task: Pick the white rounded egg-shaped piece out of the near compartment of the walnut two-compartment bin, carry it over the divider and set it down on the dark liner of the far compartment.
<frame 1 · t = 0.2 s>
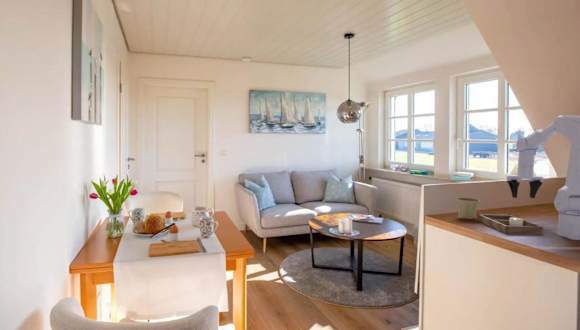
hand: (523, 197, 164), 10 cm above the countertop, tool pointing down, fingers open, 7 cm apart
bin: (507, 229, 148), on the countertop
white rounded egg-shaped piece: (515, 230, 143), point 1 cm above the countertop, touching bin
flower pot: (466, 219, 165), on the countertop
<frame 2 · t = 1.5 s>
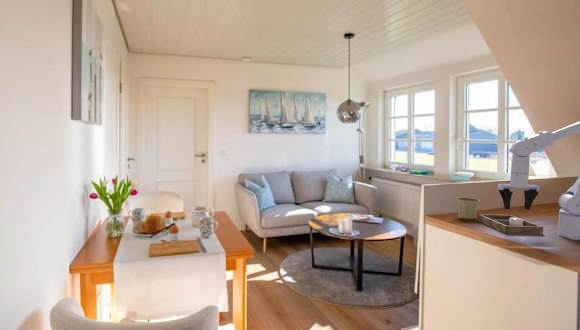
hand: (516, 209, 143), 9 cm above the countertop, tool pointing down, fingers open, 7 cm apart
nothing on the countertop moved.
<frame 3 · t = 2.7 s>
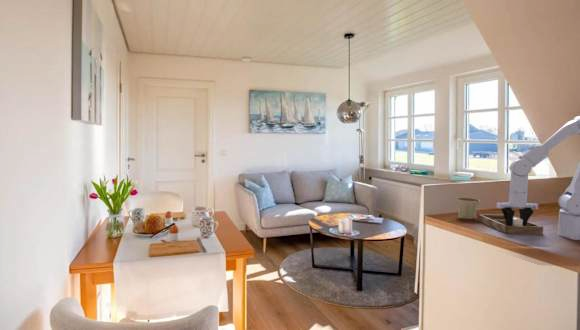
hand: (515, 227, 143), 2 cm above the countertop, tool pointing down, fingers closed on white rounded egg-shaped piece, 4 cm apart
white rounded egg-shaped piece: (515, 230, 143), point 1 cm above the countertop, touching bin, gripper
everything else where it was.
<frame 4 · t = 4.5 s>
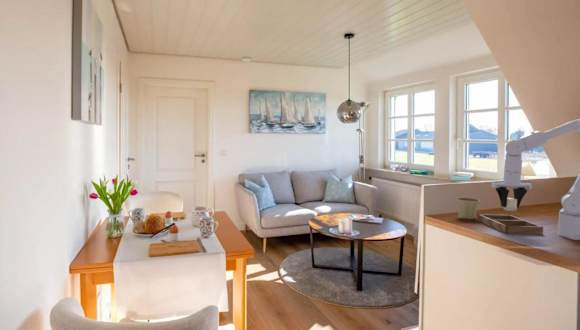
hand: (509, 206, 147), 9 cm above the countertop, tool pointing down, fingers closed on white rounded egg-shaped piece, 4 cm apart
white rounded egg-shaped piece: (509, 210, 147), point 8 cm above the countertop, touching gripper
everything else where it was.
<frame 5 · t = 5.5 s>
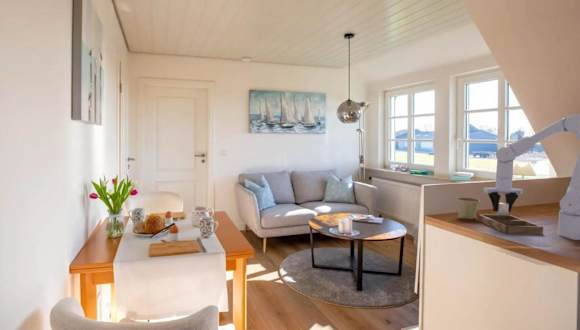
hand: (501, 211, 153), 6 cm above the countertop, tool pointing down, fingers closed on white rounded egg-shaped piece, 4 cm apart
white rounded egg-shaped piece: (501, 214, 153), point 5 cm above the countertop, touching gripper
everything else where it was.
when the fingers open (3 cm above the countertop, at t = 6.5 s): white rounded egg-shaped piece stays where it is, resting on bin.
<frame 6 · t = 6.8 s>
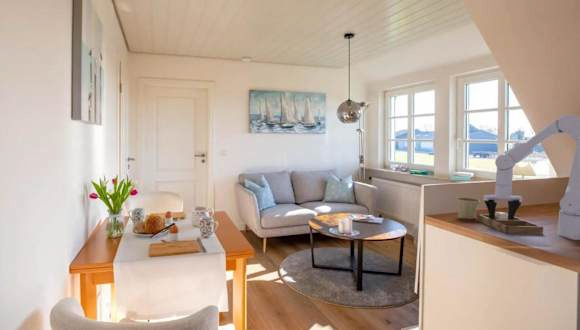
hand: (501, 218, 153), 3 cm above the countertop, tool pointing down, fingers open, 7 cm apart
white rounded egg-shaped piece: (501, 223, 153), point 1 cm above the countertop, touching bin
everything else where it was.
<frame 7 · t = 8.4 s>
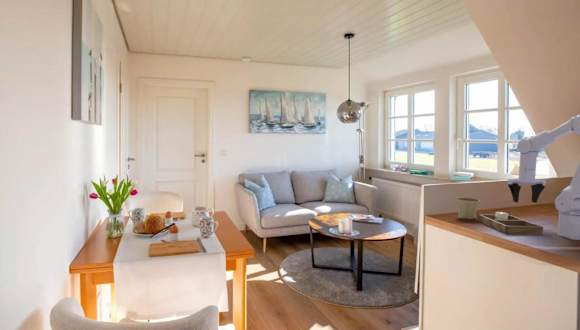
hand: (524, 202, 156), 9 cm above the countertop, tool pointing down, fingers open, 7 cm apart
nothing on the countertop moved.
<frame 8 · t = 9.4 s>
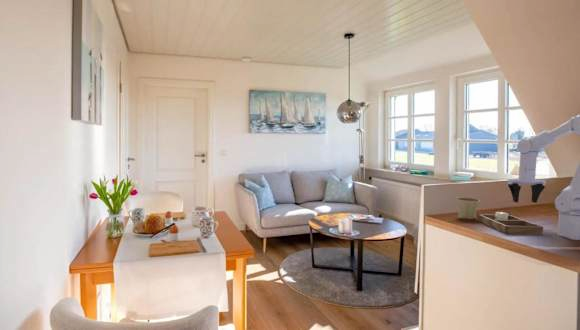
hand: (524, 202, 156), 9 cm above the countertop, tool pointing down, fingers open, 7 cm apart
nothing on the countertop moved.
at the end: white rounded egg-shaped piece inside the target area on the bin (0.3 cm from its centre), point 0.9 cm above the bin's base; white rounded egg-shaped piece tilted 0°; the gripper is holding nothing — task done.
